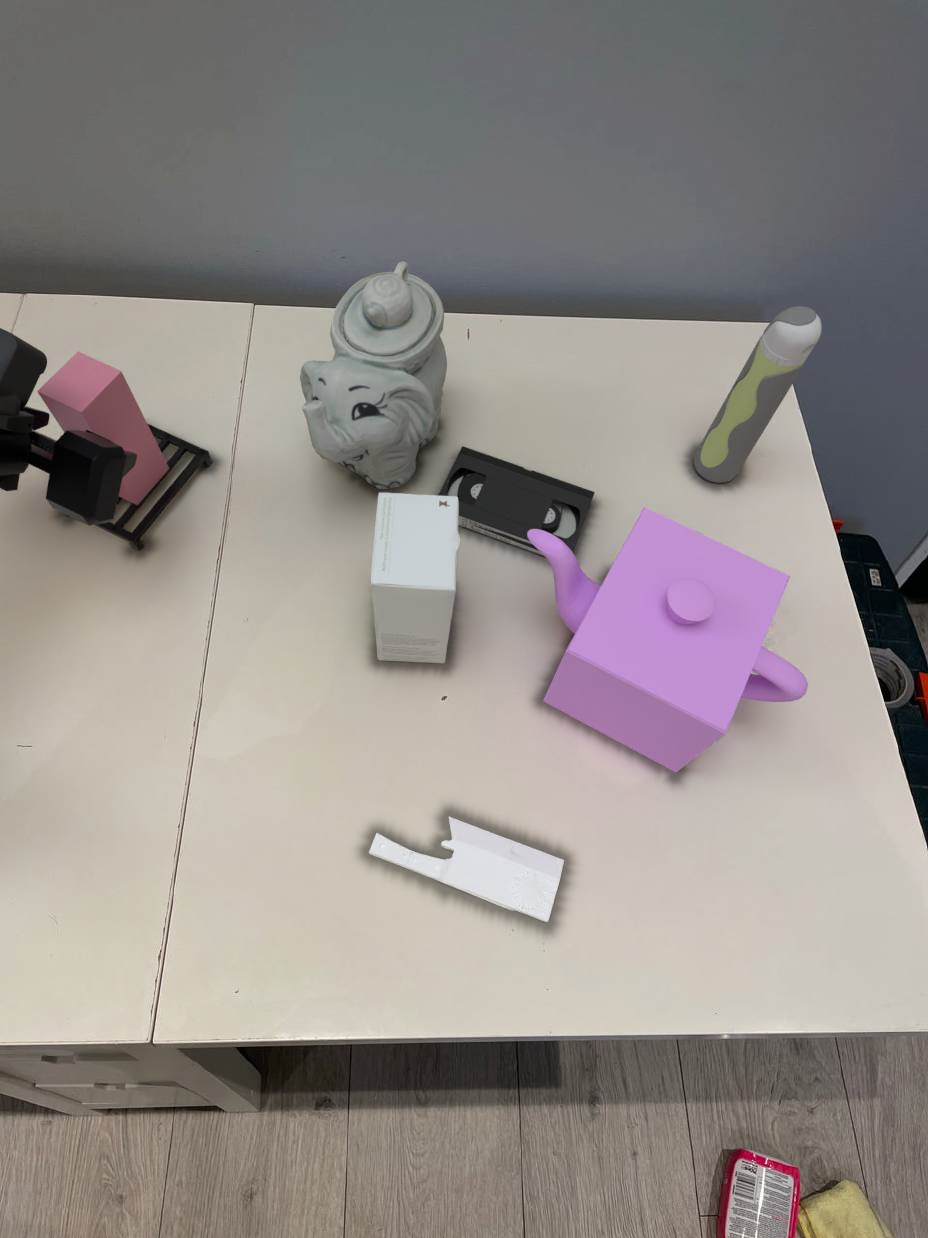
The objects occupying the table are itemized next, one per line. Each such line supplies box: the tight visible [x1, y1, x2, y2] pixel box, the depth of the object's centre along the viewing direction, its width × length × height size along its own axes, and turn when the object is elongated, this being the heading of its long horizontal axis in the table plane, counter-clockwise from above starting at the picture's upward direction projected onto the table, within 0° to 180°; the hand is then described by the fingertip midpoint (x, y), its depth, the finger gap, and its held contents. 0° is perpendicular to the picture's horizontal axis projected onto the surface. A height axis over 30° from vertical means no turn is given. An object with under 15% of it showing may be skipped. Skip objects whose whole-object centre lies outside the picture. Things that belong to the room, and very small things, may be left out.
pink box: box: [36, 351, 169, 505], centre depth 66 cm, size 5×4×13 cm
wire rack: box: [60, 423, 213, 552], centre depth 72 cm, size 12×9×2 cm
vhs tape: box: [437, 445, 595, 558], centre depth 74 cm, size 14×8×2 cm, turn 69°
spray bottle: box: [693, 305, 823, 484], centre depth 69 cm, size 5×5×20 cm
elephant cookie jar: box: [299, 260, 448, 490], centre depth 68 cm, size 16×15×19 cm
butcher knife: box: [368, 816, 565, 923], centre depth 59 cm, size 5×15×1 cm, turn 70°
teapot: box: [527, 506, 809, 774], centre depth 62 cm, size 15×25×14 cm, turn 61°
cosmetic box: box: [370, 491, 461, 664], centre depth 61 cm, size 8×7×16 cm
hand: (90, 438), depth 64 cm, fingers open, 9 cm apart
